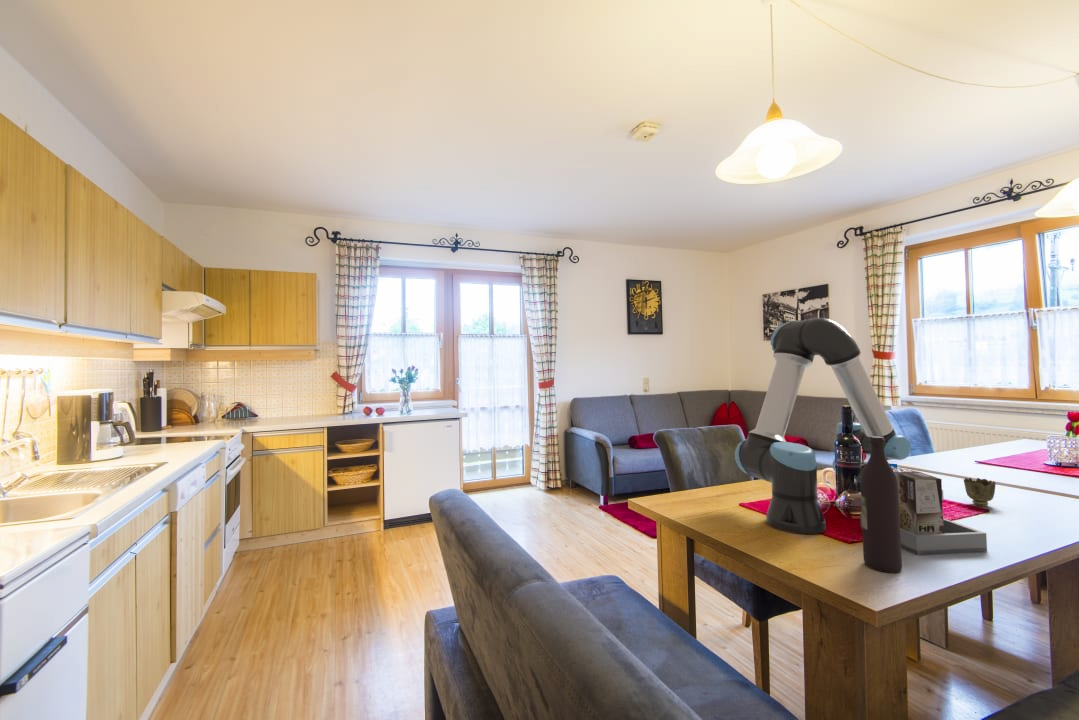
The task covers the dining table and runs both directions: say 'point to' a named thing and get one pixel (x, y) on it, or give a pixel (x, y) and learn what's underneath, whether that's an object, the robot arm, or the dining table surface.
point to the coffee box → (920, 503)
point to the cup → (980, 490)
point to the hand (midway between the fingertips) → (913, 494)
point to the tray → (944, 540)
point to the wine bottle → (880, 512)
